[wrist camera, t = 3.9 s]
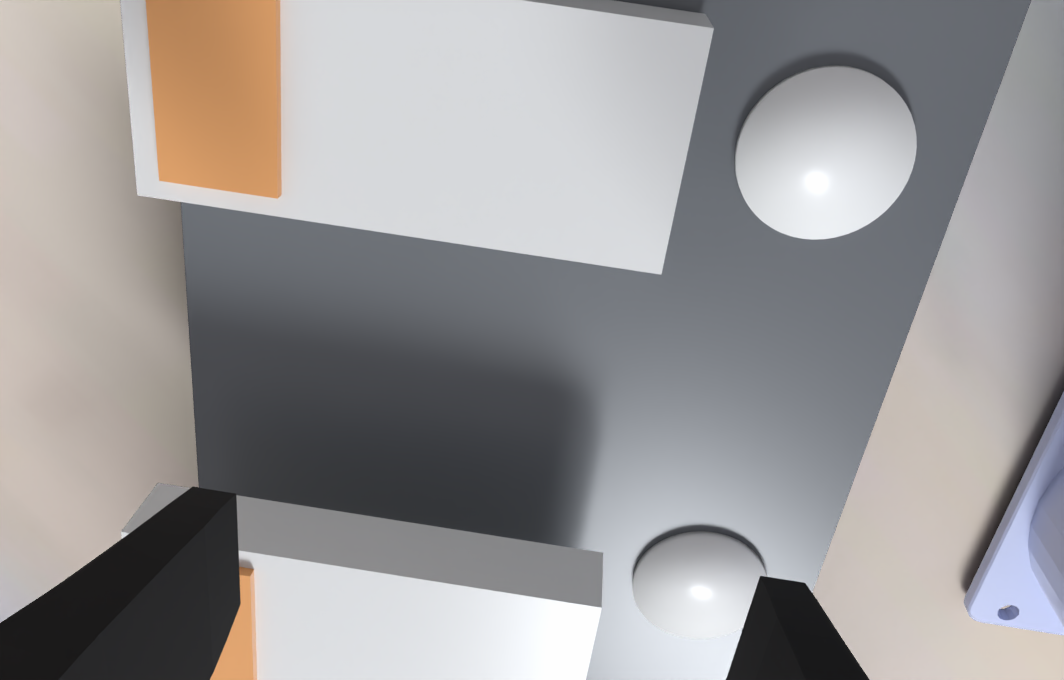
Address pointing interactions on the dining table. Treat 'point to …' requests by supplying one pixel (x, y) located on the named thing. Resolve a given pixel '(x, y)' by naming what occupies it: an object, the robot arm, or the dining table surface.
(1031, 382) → the dining table surface
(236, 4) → the switch middle
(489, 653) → the switch on end
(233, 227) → the switch panel
